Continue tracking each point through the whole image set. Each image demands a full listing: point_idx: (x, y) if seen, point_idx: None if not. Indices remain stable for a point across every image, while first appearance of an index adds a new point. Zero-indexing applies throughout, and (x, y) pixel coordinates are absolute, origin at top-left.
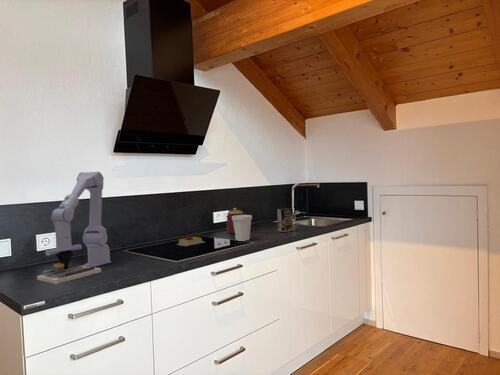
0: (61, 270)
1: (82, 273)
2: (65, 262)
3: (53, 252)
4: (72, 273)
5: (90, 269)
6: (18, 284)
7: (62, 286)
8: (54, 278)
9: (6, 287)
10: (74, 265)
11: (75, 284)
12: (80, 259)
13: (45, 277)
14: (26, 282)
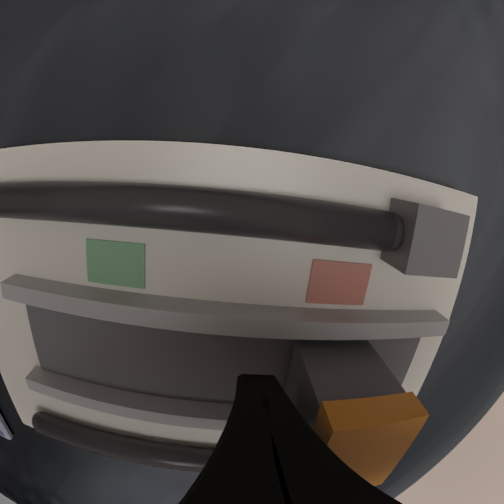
0: (343, 368)
1: (163, 142)
2: (311, 445)
3: None
4: (289, 197)
5: (29, 180)
6: (452, 422)
7: (467, 83)
8: (440, 278)
9: (486, 409)
10: (77, 443)
11: (397, 11)
12: (18, 488)
13: (414, 387)
14: (422, 430)
